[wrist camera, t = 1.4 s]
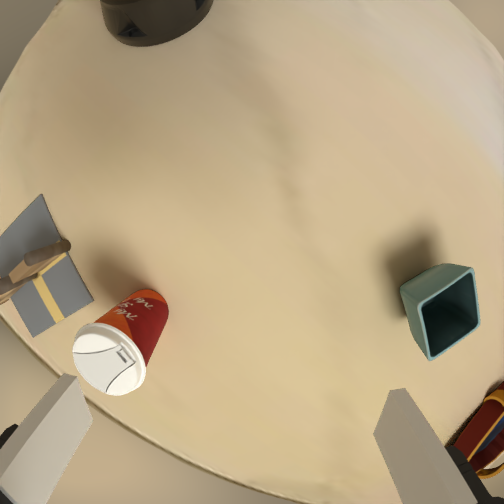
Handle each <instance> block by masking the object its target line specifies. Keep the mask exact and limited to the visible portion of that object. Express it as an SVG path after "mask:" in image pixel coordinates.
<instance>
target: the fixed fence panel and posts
mask: <svg viewBox="0 0 504 504" xmlns="http://www.w3.org/2000/svg"><path fill="white" fill-rule="evenodd" d="M70 248H71V245H70V242H69V241H68V240H63V241H60V242H57V243H54V244H51V245H48V246H45V247H42V248H39V249H36V250H33V251H30V252H27V253H25V255H24V260H23V261H22V262H21V263H20V264H19V265H17V266H16V267H15V268H14V269H13V270H12V271H11V272H10V273H9V275H8V276H5V277H3V278H1V279H0V295H2V294H4V293H6V292H8V291H10V290H12V289H14V288H16V287H18V286H20V285H22V284H24V283H26V282H28V281H30V280H33V279H35V278H36V277H37V276H38V272H39V271H42V270H43V269H44V268H46V267H47V266H48V265H49V264H51V263H52V262H53V261H54V260H56V259H57V258H58V257H59V256H61V255H62V254H63V253H65V252H67V251H69V250H70Z"/></svg>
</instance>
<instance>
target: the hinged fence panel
mask: <svg viewBox="0 0 504 504" xmlns="http://www.w3.org/2000/svg"><path fill="white" fill-rule="evenodd" d="M26 283H27V282H26ZM26 283H24V284H22V285H20V286H18V287H16V288H14V289H12V290H10V291H8V292H6V293H4V294H2V295H0V305H1V304H3V303H5V302H7V301H8V300H9V298H10V297H11V296H12V295H13V294H15V293H16V292H17V291H18V290H19V289H20V288H21V287H22V286H24V285H25V284H26Z"/></svg>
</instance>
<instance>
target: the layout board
mask: <svg viewBox="0 0 504 504" xmlns="http://www.w3.org/2000/svg"><path fill="white" fill-rule="evenodd" d="M60 241H62V239H61V237H60V235H59V233H58V231H57V228H56V226H55V224H54V222H53V219H52V217H51V215H50V212H49V210H48V208H47V205H46V203H45V200H44V198H43V195H42V194H41V195H40V196H39V197H38V198H37V199H36V200H35V201H33V202H32V203H31V204H30V205H29V206H28V207H27V208H26V209H25V210H24V212H23V213H22V214H21V215H20V216H19V217H18V218H17V219H16V220H15V221H14V222H13V223H12V224H11V225H10V226H9V228H8V229H7V230H6V231H5V232H4V233H3V234H2V235H1V237H0V276H1V278H3V277H5V276H8V275H9V273H10V272H11V271H12V270H13V269H14V268H15V267H16V266H17V265H19V264H20V263H21V262H22V261H23V260H24V255H25V253H27V252H30V251H33V250H36V249H39V248H42V247H45V246H48V245H51V244H54V243H57V242H60ZM11 299H12V301H13V303H14V305H15V307H16V309H17V311H18V312H19V314H20V316H21V318H22V320H23V321H24V323H25V325H26V327H27V328H28V330H29V332H30V333H31V335H32V337H35V336H37V335H38V334H40V333H41V332H43V331H45V330H46V329H48V328H49V327H51V326H53V325H54V324H56V323H58V322H59V321H61V320H63V319H64V318H66V317H68V316H69V315H71V314H72V313H74V312H76V311H77V310H79V309H81V308H83V307H84V306H86V305H88V304H89V303H91V302H93V301H94V299H93V298H92V296H91V294H90V293H89V291H88V289H87V287H86V286H85V284H84V282H83V280H82V278H81V277H80V275H79V273H78V271H77V269H76V267H75V265H74V263H73V261H72V260H71V258H70V256H69V254H68V252H65V253H63V254H62V255H61V256H59V257H58V258H57V259H56V260H54V261H53V262H52V263H51V264H49V265H48V266H47V267H46V268H44V269H43V270H42V271H39V272H38V276H37V277H36V278H35V279H33V280H30V281H28V282H27V283H26V284H25V285H24V286H22V287H21V288H20V289H19V290H18V291H17V292H16V293H15V294H13V295H12V296H11Z"/></svg>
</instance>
